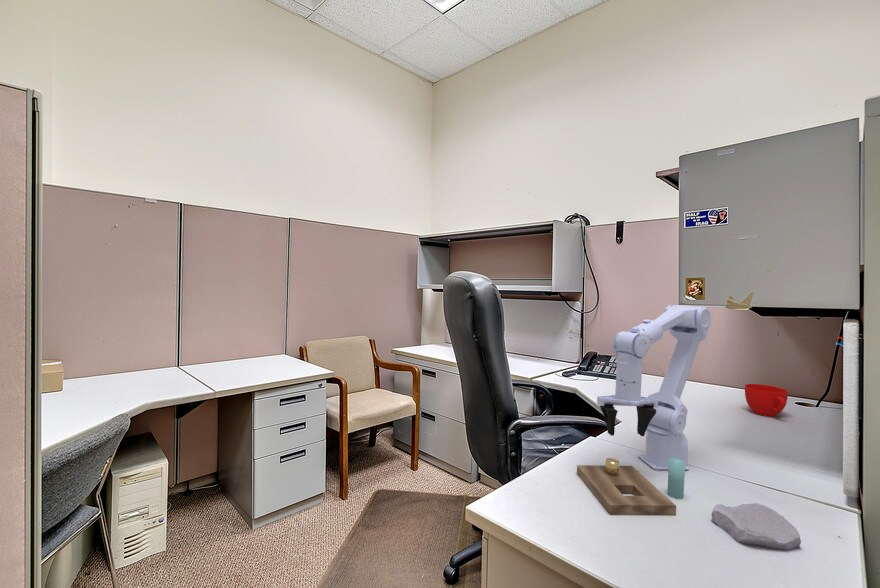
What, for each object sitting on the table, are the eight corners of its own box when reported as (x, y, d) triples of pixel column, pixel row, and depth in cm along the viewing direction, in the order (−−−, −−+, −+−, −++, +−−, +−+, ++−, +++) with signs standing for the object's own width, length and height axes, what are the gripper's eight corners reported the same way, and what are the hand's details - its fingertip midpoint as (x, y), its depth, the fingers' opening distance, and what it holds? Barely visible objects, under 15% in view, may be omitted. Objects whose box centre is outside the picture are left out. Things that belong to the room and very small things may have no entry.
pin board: (631, 473, 102) (632, 454, 102) (675, 515, 84) (677, 491, 84) (576, 473, 101) (577, 453, 101) (609, 514, 83) (610, 490, 83)
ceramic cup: (762, 421, 146) (763, 394, 146) (736, 407, 162) (737, 382, 162) (802, 424, 144) (804, 397, 143) (772, 410, 160) (774, 385, 160)
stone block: (806, 559, 74) (762, 517, 84) (812, 538, 73) (766, 498, 83) (743, 561, 74) (706, 519, 83) (748, 540, 73) (710, 499, 82)
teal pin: (677, 491, 94) (679, 457, 94) (686, 498, 91) (688, 463, 90) (664, 491, 94) (665, 457, 93) (672, 498, 90) (674, 463, 90)
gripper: (606, 383, 96) (604, 439, 96) (666, 385, 96) (663, 441, 97) (594, 376, 103) (592, 429, 103) (650, 378, 103) (647, 430, 104)
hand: (625, 434), depth 100 cm, fingers open, 7 cm apart
